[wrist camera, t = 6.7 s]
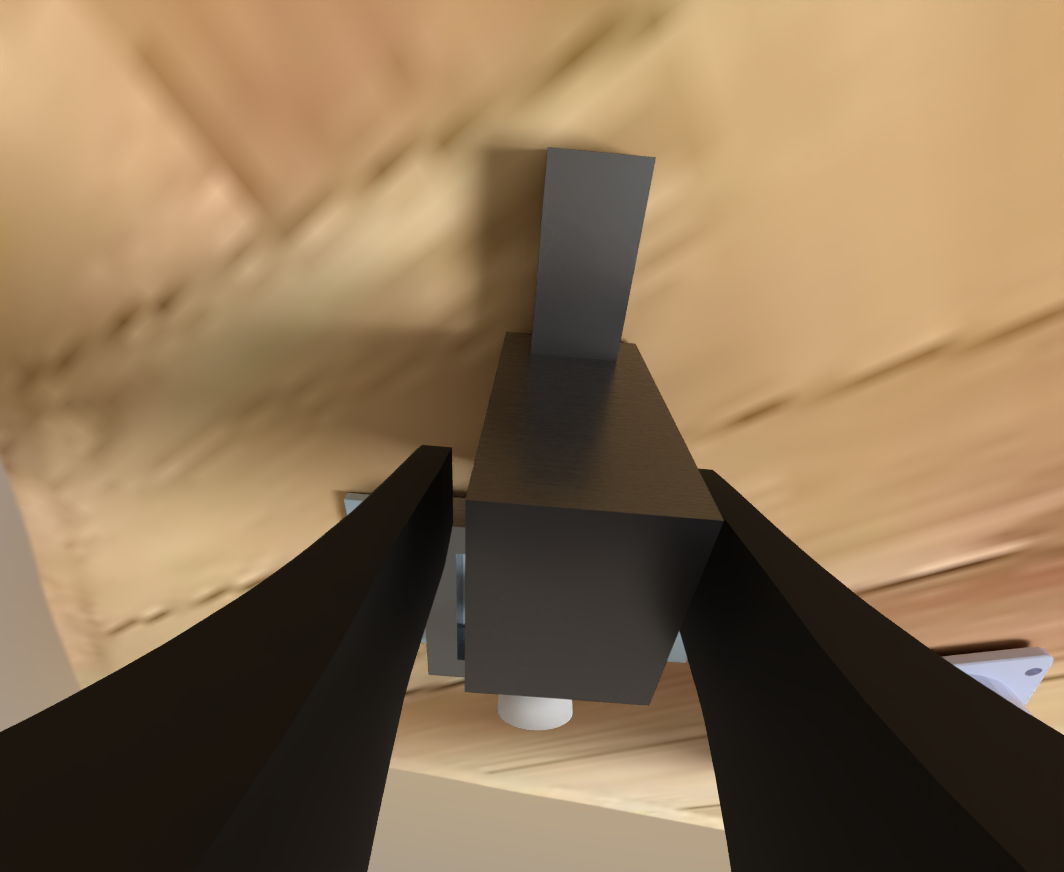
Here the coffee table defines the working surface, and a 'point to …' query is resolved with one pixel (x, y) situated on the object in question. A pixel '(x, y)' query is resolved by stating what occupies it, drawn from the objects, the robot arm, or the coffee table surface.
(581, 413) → the grey block with tab
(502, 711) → the keeper
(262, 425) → the coffee table surface
